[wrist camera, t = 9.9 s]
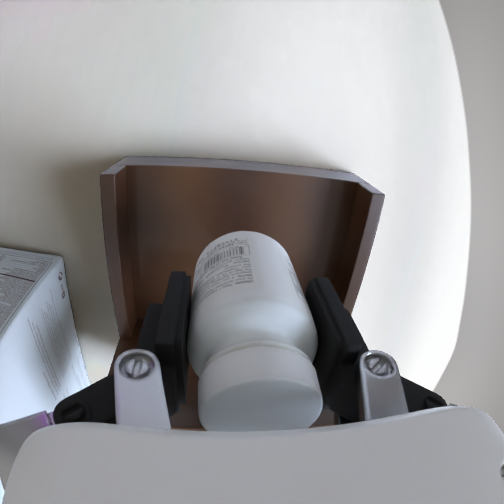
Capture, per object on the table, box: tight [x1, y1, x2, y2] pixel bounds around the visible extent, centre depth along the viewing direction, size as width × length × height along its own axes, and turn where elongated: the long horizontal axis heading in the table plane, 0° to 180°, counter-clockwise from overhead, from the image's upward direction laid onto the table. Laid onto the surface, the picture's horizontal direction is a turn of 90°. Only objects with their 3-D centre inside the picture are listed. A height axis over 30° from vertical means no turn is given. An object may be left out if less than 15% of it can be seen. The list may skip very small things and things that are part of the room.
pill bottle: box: [187, 231, 323, 432], centre depth 11 cm, size 4×4×8 cm
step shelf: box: [100, 156, 385, 431], centre depth 17 cm, size 14×16×11 cm
